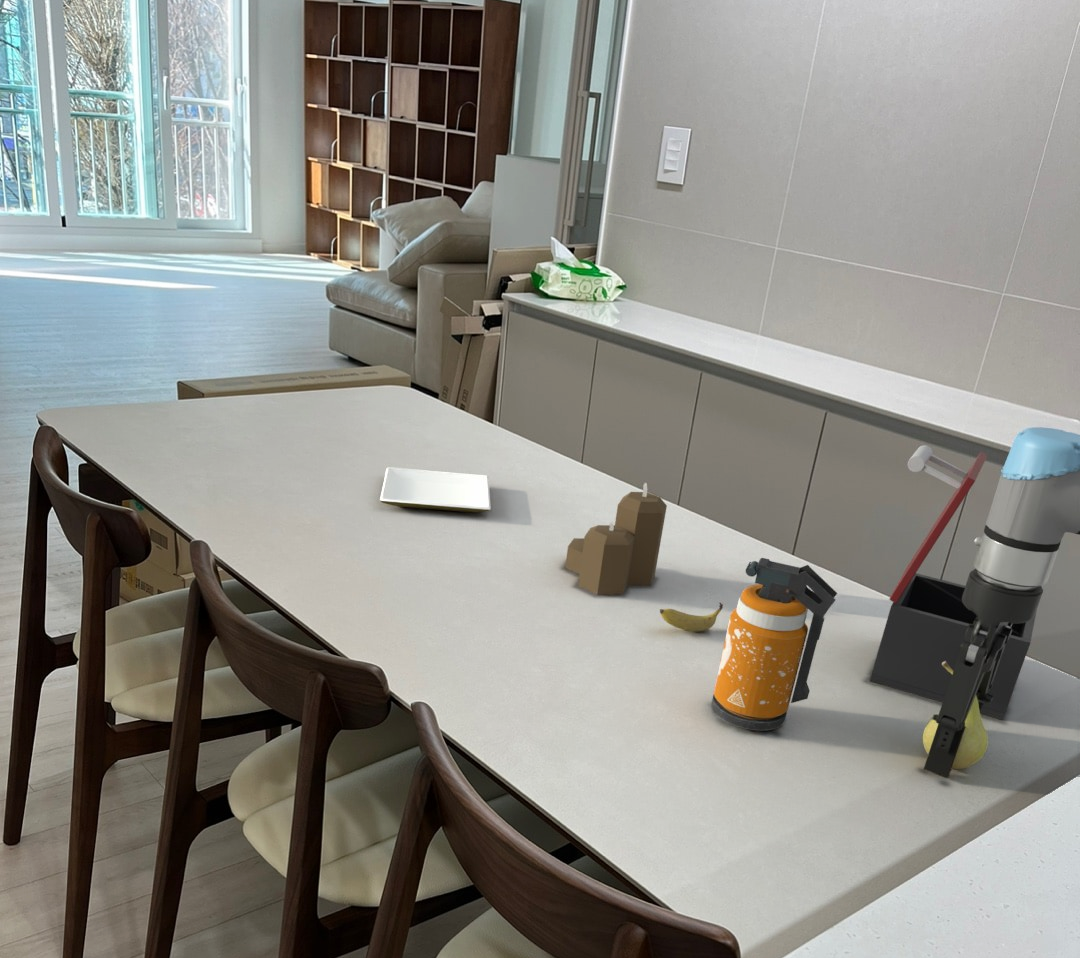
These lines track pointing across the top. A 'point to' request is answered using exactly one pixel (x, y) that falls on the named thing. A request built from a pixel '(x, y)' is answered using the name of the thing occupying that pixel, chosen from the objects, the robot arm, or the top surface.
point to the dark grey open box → (940, 644)
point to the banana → (689, 620)
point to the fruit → (971, 740)
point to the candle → (620, 547)
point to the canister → (770, 645)
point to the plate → (436, 490)
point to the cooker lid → (918, 464)
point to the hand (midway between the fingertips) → (945, 759)
